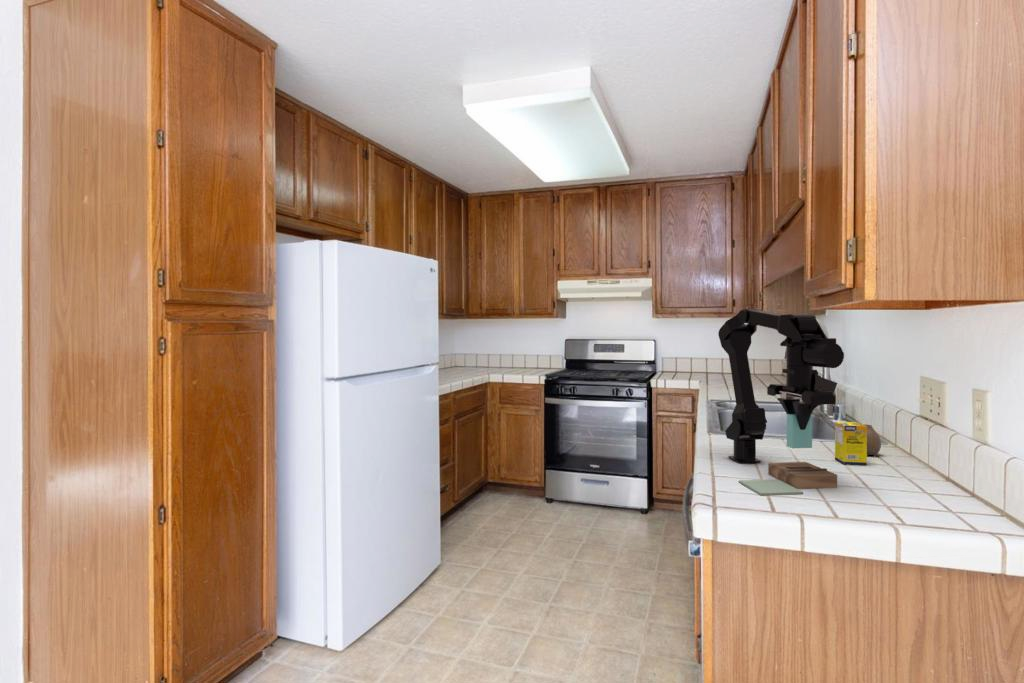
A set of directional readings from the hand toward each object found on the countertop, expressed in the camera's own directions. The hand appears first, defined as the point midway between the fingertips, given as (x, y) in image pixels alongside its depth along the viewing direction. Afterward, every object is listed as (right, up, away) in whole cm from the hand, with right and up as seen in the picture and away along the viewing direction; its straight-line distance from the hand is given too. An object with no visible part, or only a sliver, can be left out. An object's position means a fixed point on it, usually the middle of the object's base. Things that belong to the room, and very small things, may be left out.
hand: (799, 428), depth 129 cm
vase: (+34, -12, +26) cm, 45 cm away
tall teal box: (0, -5, 0) cm, 5 cm away
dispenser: (+1, -13, +1) cm, 13 cm away
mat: (-10, -13, -5) cm, 17 cm away
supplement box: (+24, -13, +17) cm, 32 cm away
